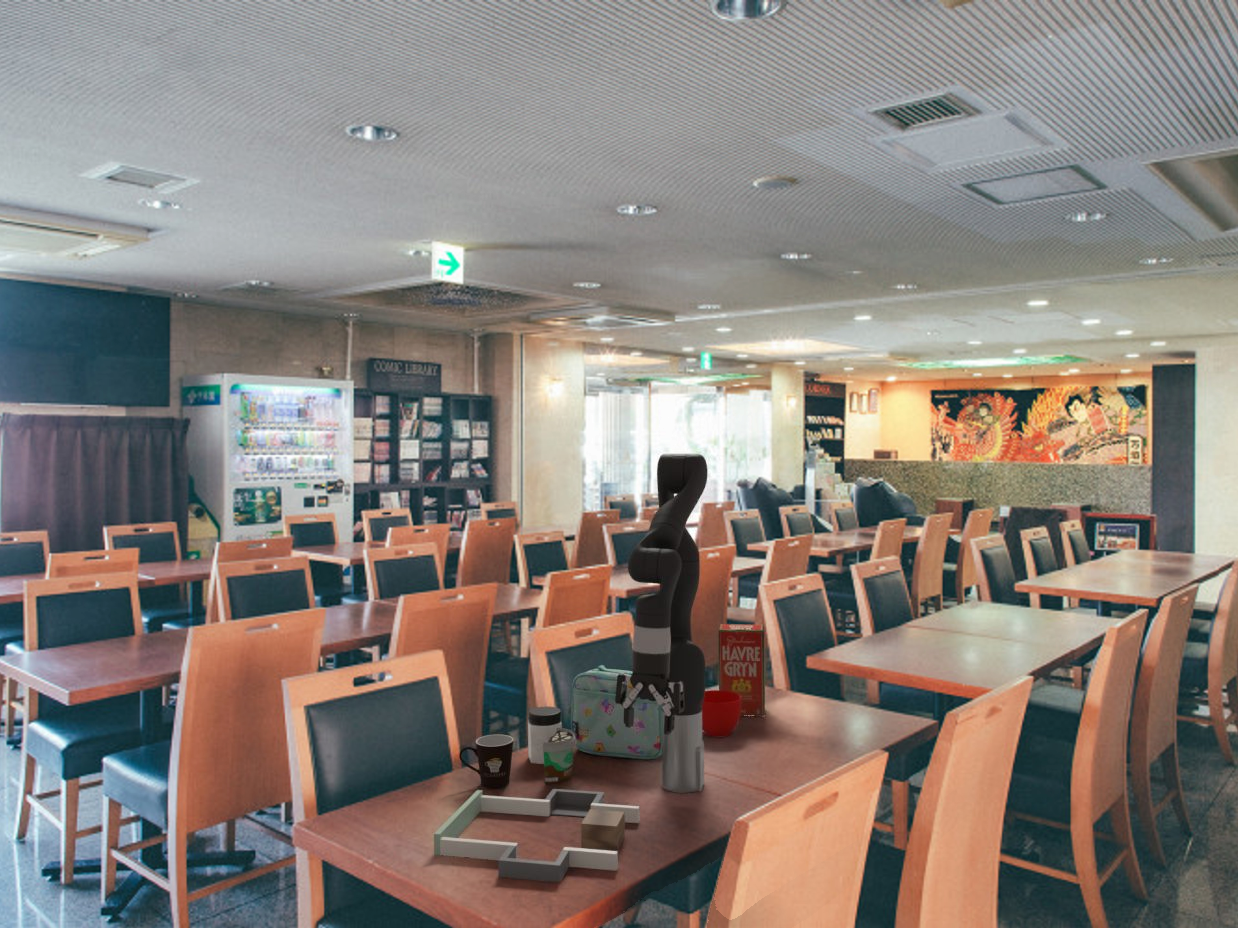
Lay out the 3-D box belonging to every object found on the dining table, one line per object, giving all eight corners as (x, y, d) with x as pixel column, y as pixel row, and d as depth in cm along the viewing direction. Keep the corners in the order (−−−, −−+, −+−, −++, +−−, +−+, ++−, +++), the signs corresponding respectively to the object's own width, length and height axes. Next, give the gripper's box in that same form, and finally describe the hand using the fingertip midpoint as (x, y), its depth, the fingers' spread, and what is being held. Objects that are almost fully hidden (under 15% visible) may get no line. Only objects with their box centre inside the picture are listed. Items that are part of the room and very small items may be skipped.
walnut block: (624, 836, 176) (624, 811, 176) (617, 852, 169) (616, 826, 169) (590, 834, 177) (589, 809, 177) (581, 849, 170) (581, 823, 170)
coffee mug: (520, 779, 207) (519, 736, 207) (503, 792, 199) (503, 747, 199) (475, 773, 211) (475, 731, 211) (457, 786, 203) (457, 742, 203)
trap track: (644, 808, 189) (644, 790, 189) (608, 886, 155) (608, 863, 155) (487, 797, 196) (487, 779, 196) (420, 869, 162) (419, 847, 162)
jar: (521, 762, 219) (521, 713, 218) (535, 752, 226) (534, 704, 226) (556, 766, 216) (555, 716, 216) (568, 755, 224) (567, 707, 224)
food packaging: (718, 715, 256) (717, 628, 256) (720, 706, 265) (719, 622, 265) (765, 717, 254) (764, 629, 254) (765, 708, 263) (764, 623, 263)
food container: (569, 788, 201) (568, 744, 201) (543, 786, 202) (542, 742, 202) (582, 769, 213) (582, 728, 213) (557, 768, 214) (557, 726, 214)
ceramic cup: (688, 722, 250) (687, 687, 250) (747, 729, 243) (746, 692, 243) (673, 736, 238) (672, 698, 238) (734, 743, 231) (734, 704, 231)
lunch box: (563, 753, 225) (562, 668, 225) (580, 740, 235) (579, 659, 235) (663, 765, 215) (662, 677, 215) (676, 752, 225) (675, 667, 225)
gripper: (691, 650, 177) (688, 731, 177) (628, 641, 184) (625, 719, 184) (676, 655, 171) (672, 740, 170) (611, 646, 178) (607, 728, 177)
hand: (648, 729), depth 177 cm, fingers open, 8 cm apart
